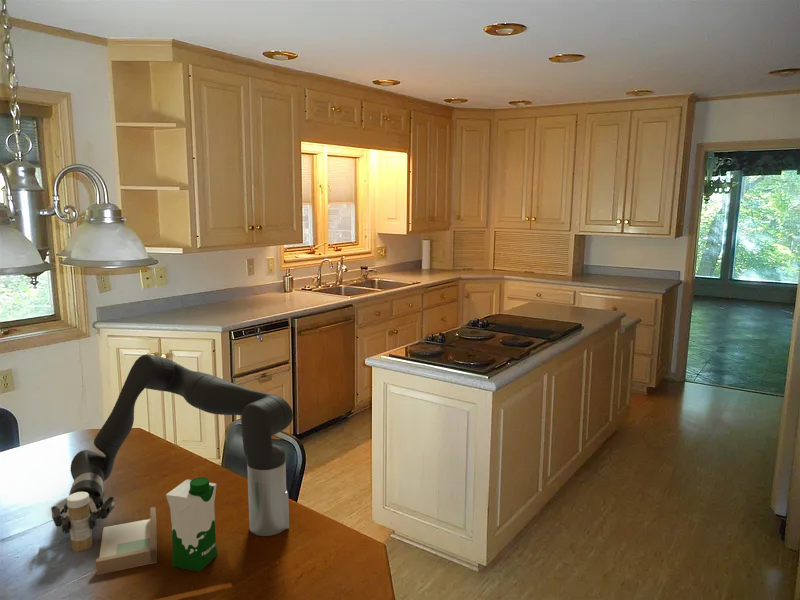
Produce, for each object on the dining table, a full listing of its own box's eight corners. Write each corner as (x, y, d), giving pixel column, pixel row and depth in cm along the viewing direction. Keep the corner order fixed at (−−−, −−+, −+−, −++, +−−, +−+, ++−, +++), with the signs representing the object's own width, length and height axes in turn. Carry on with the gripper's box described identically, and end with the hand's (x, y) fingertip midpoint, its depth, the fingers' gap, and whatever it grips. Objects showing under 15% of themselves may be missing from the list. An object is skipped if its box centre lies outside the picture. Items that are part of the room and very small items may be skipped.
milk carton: (201, 578, 129) (196, 492, 126) (165, 570, 131) (160, 486, 128) (223, 555, 137) (220, 474, 134) (189, 548, 140) (185, 468, 136)
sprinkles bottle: (76, 543, 141) (71, 491, 139) (96, 543, 141) (92, 490, 139) (68, 555, 136) (62, 501, 134) (88, 554, 137) (83, 500, 135)
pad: (149, 538, 142) (149, 538, 142) (149, 555, 136) (149, 554, 136) (117, 544, 139) (117, 544, 139) (115, 561, 133) (115, 560, 133)
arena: (156, 520, 151) (155, 506, 151) (156, 565, 133) (155, 549, 132) (103, 530, 147) (102, 516, 146) (97, 577, 129) (95, 561, 128)
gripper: (52, 484, 147) (41, 518, 132) (116, 474, 153) (112, 506, 137) (55, 512, 149) (44, 549, 133) (118, 501, 154) (114, 536, 139)
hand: (79, 527), depth 135 cm, fingers closed on sprinkles bottle, 4 cm apart
